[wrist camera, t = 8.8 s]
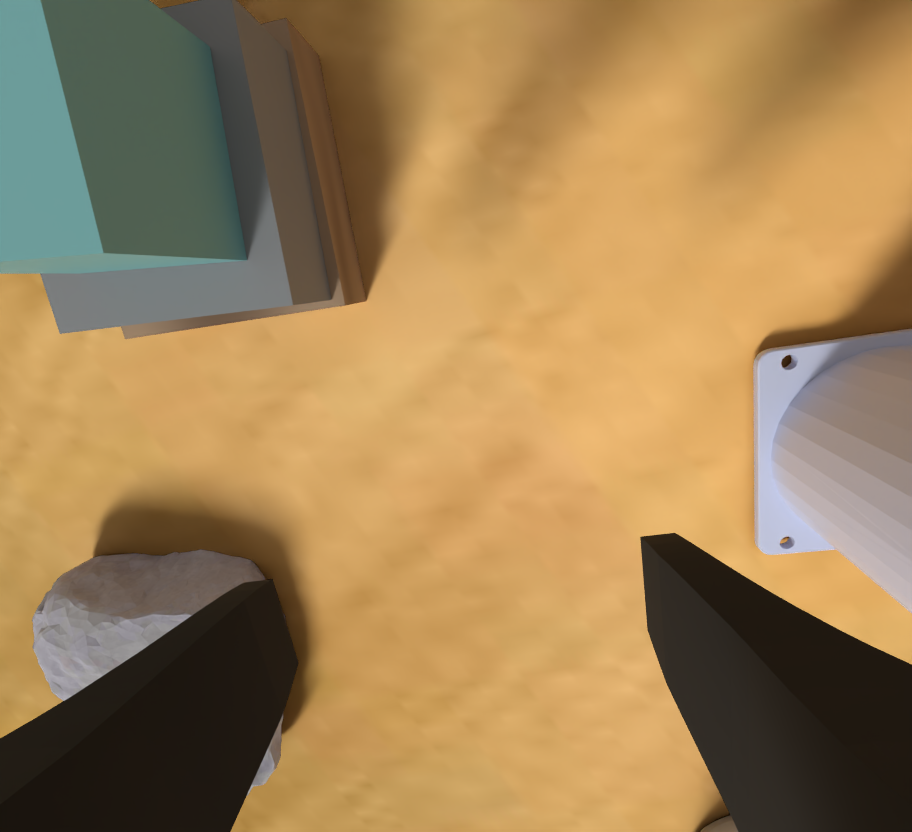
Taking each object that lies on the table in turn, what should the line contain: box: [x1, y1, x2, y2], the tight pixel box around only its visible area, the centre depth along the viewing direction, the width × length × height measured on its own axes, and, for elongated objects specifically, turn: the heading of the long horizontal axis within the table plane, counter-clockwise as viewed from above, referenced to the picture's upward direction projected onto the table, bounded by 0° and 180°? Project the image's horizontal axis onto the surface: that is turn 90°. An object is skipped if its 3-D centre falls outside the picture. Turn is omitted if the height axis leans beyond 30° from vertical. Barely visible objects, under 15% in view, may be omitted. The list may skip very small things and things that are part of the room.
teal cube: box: [0, 0, 247, 274], centre depth 10 cm, size 5×5×5 cm
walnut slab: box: [121, 18, 366, 339], centre depth 17 cm, size 8×8×3 cm
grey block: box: [40, 0, 332, 334], centre depth 14 cm, size 7×7×3 cm
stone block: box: [32, 550, 286, 795], centre depth 23 cm, size 12×5×10 cm
